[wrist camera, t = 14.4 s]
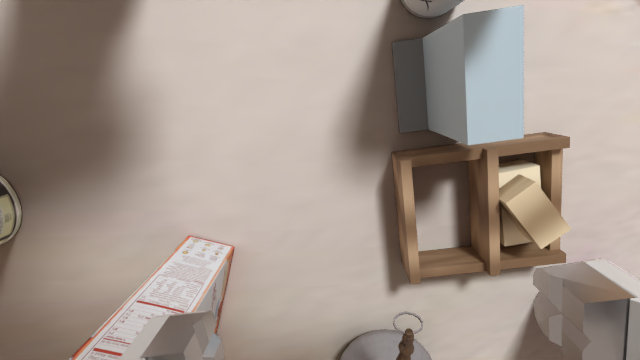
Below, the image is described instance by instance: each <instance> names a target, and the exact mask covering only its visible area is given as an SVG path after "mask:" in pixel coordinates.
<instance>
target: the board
mask: <svg viewBox="0 0 640 360" xmlns="http://www.w3.org/2000/svg"><path fill="white" fill-rule="evenodd" d="M423 52H424V67H425V83H426V98H427V113H428V129H429V130H432V131H434V132H436V133H439V134H441V135H444V136H446V137H449V138H451V139H454V140H456V141H459V142H461V143H464V144H466V145H474V144H482V143H490V142H497V141H505V140H513V139H520V138H524V5H520V6H514V7H508V8H501V9H495V10H488V11H482V12H475V13H469V14H463V15H461V16H459V17H458V18H456V19H454V20H452V21H451V22H449V23H447V24H445V25H444V26H442V27H440V28H439V29H437V30H435V31H433V32H432V33H430V34H428V35H426V36H425V37H423Z"/></svg>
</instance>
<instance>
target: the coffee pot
mask: <svg viewBox="0 0 640 360" xmlns="http://www.w3.org/2000/svg"><path fill="white" fill-rule="evenodd" d="M403 314H409V315H413V316H415V317H417V318H419V320H420V322H421V323H422V324H421V328H420V329H419V330H417V331H414V332H413V331H412V330H411V329H406V331H402V330H400V329H398V328H397V327H396V325H395V323H394V322H395V319H396V318H397V317H398V316H400V315H403ZM393 325H394V327H395V329H396V330H398V331H395V330H385V329H384V330H375V331H371V332H368V333H365V334H363V335H361V336H359V337H358V338H356V339H355V340H353V341H352V342H351V343H350V344H349V346H348V347H347V348H346V349H345V351H344V352H343V354H342V356H341V358H340V360H432V359H431V357H430V355H429V353H428V352H427V351H426V349H425V348H424V347H423V346H422V345H421V344H420V343H419V342H418V341H416V340H415V339H414V335H413V334H415V333H418V332H419V331H421V330H422V327H423V321H422V320H421V318H420V317H419V316H418V315H416V314H414V313H410V312H402V313H399V314H398V315H396V316H395V317H394V321H393Z"/></svg>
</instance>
